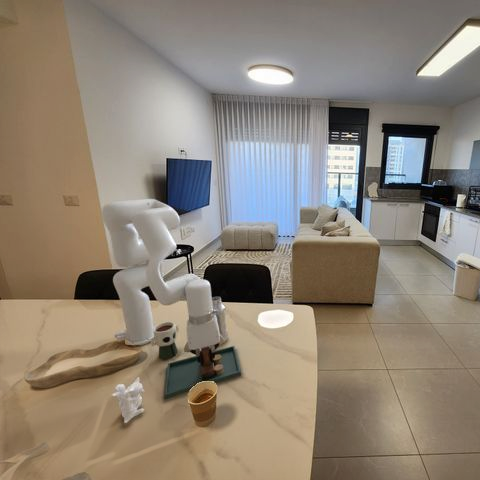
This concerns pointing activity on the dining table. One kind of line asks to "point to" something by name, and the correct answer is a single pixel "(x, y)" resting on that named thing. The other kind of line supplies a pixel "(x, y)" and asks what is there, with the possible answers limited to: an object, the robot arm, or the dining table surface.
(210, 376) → the brush
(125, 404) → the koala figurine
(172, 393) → the tray
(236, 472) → the dining table surface
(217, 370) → the crumb
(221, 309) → the plastic bottle
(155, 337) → the character mug
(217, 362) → the crumb
